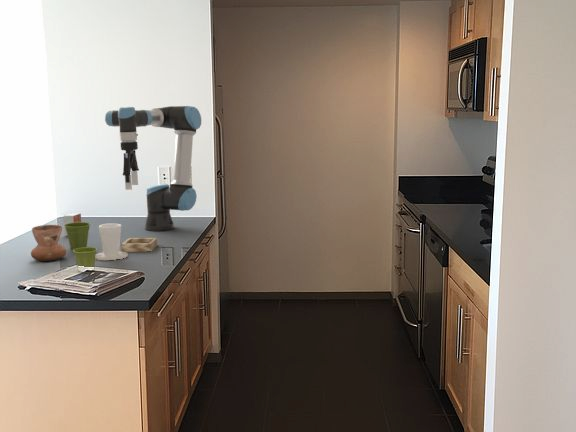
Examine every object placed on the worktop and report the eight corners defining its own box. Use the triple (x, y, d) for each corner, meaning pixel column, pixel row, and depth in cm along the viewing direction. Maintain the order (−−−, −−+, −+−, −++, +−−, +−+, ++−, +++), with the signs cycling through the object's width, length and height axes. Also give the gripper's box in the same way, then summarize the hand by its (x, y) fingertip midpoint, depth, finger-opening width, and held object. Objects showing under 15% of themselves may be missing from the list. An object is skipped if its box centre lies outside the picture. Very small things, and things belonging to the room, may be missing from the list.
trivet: (122, 252, 303) (122, 249, 302) (131, 258, 291) (131, 255, 290) (91, 255, 296) (91, 253, 296) (99, 262, 284) (99, 260, 284)
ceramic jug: (66, 262, 285) (64, 229, 282) (30, 265, 280) (27, 231, 278) (66, 253, 302) (64, 222, 299) (32, 255, 297) (30, 224, 295)
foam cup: (102, 252, 297) (101, 223, 295) (123, 251, 298) (122, 223, 296) (98, 257, 288) (96, 227, 286) (120, 256, 289) (119, 227, 287)
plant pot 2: (103, 268, 273) (102, 247, 272) (89, 274, 265) (88, 252, 263) (83, 267, 276) (82, 246, 275) (69, 272, 268) (68, 251, 266)
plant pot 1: (69, 252, 303) (67, 227, 302) (62, 247, 313) (61, 223, 311) (95, 248, 310) (93, 225, 308) (88, 244, 320) (86, 221, 318)
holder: (157, 245, 316) (157, 237, 315) (151, 251, 303) (150, 244, 302) (129, 245, 316) (128, 238, 316) (121, 251, 303) (121, 244, 303)
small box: (74, 236, 339) (73, 215, 337) (64, 236, 340) (62, 215, 338) (82, 233, 346) (81, 213, 345) (72, 233, 347) (71, 212, 346)
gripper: (131, 143, 295) (134, 191, 299) (142, 138, 319) (145, 182, 323) (114, 144, 294) (117, 191, 299) (126, 139, 319) (129, 183, 323)
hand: (132, 187), depth 311 cm, fingers open, 13 cm apart
